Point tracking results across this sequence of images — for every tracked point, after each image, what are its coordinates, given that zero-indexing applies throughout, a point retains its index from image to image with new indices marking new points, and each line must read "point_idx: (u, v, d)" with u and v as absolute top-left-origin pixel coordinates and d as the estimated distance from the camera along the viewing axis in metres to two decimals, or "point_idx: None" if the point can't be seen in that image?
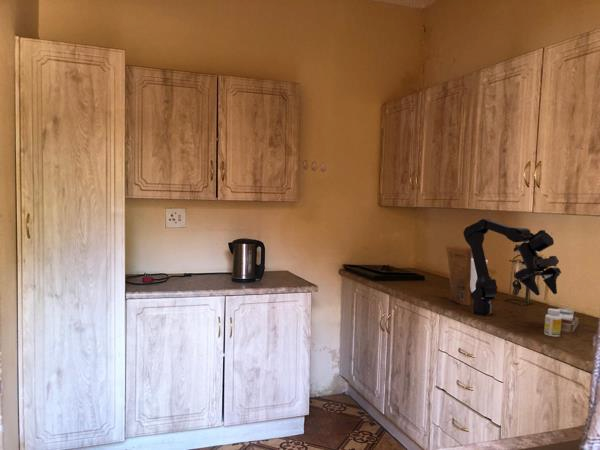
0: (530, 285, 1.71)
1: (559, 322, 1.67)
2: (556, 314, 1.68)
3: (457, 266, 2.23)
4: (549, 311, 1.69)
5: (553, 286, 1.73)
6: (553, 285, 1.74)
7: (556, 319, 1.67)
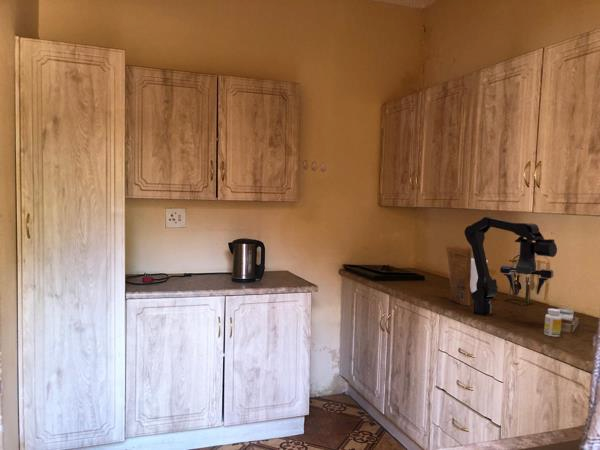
0: None
1: (559, 322, 1.67)
2: (556, 314, 1.68)
3: (457, 266, 2.23)
4: (549, 311, 1.69)
5: None
6: (538, 286, 1.80)
7: (556, 319, 1.67)
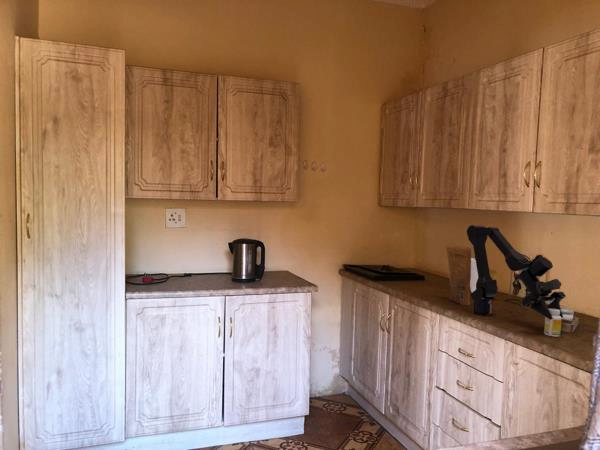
0: (541, 310, 1.69)
1: (559, 322, 1.67)
2: (556, 314, 1.68)
3: (457, 266, 2.23)
4: (549, 311, 1.69)
5: None
6: None
7: (556, 319, 1.67)
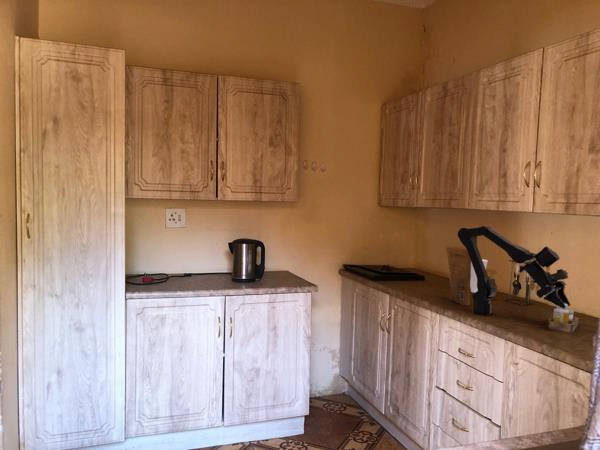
0: (554, 300, 1.75)
1: (568, 315, 1.76)
2: (565, 308, 1.76)
3: (457, 266, 2.23)
4: None
5: (565, 299, 1.80)
6: (564, 298, 1.80)
7: (566, 313, 1.76)
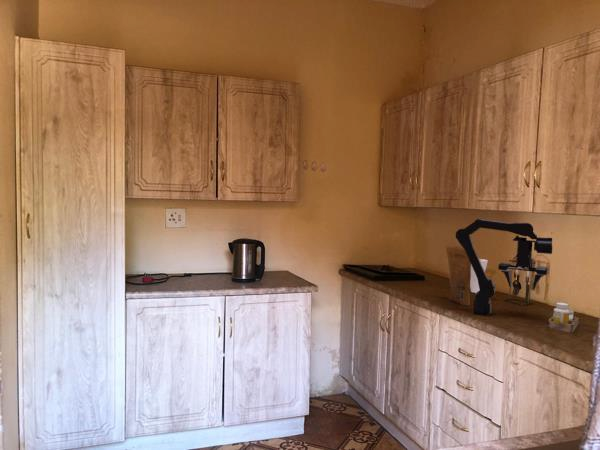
0: None
1: (568, 315, 1.76)
2: (565, 308, 1.76)
3: (457, 266, 2.23)
4: (559, 305, 1.77)
5: None
6: None
7: (566, 313, 1.76)
